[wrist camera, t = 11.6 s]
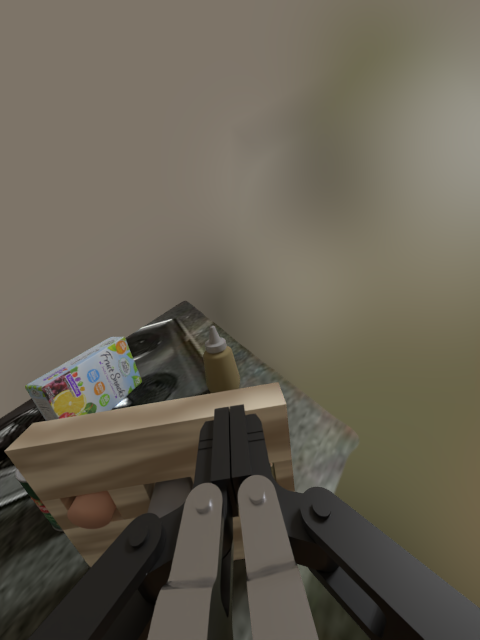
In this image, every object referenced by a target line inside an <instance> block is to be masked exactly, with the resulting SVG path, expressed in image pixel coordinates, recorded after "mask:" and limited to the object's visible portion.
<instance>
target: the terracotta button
mask: <svg viewBox="0 0 480 640" xmlns="http://www.w3.org/2000/svg"><path fill="white" fill-rule="evenodd" d="M115 509H116V505H115V503H114V501H113V499H112V498H111V496H110V494H109V492H108V491H102V492H96V493H90V494H84V495H78V496H76V498H75V500H74V501H73V503H72V505H71V507H70V508H69V510H68V512H67V517H68V519H69V520H70V522H72V523H73V524H74V525H76V526H78V527H81V528H86V529H98V528H102V527H104V526H106V525H108V524H109V523H110V521H111V519H112V516H113V514H114V511H115Z"/></svg>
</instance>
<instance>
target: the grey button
mask: <svg viewBox="0 0 480 640" xmlns="http://www.w3.org/2000/svg"><path fill="white" fill-rule="evenodd" d="M192 489H193V481H192V478H191V477H185V478H179V479H173V480H167V481H161V482H156V483H155V487H154V490H153V494H152V497H151V501H150V504H149V508H148V512H147V513H153V514H156V515H157V516H158V517H159V518H161V517H163V516H165V515H166V514H168V513H170V512H172V511H174V510H176V509H177V508H179V507H180V506H181V505H182V504H183V503H184V502H185V501H186V499H187V497H188V495H189V493H190V492H191V491H192Z"/></svg>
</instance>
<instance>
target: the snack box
mask: <svg viewBox="0 0 480 640" xmlns="http://www.w3.org/2000/svg"><path fill="white" fill-rule="evenodd" d="M141 382H142V380H141V377H140V375H139V372H138V370H137V367H136V365H135V362H134V360H133V357H132V355H131V352H130V350H129V347H128V345H127V342H126V340H125V337H110V338H108V339H106V340H105V341H103V342H101V343H99V344H98V345H96V346H94V347H92V348H91V349H89V350H87V351H85V352H84V353H82V354H80V355H78V356H77V357H75V358H73V359H71V360H70V361H68V362H66V363H64V364H63V365H61V366H59V367H57V368H56V369H54V370H52V371H51V372H48V373H47V374H45V375H43V376H42V377H40V378H38V379H36V380H34V381H33V382H31V383H29V384H27V385H26V386H25V388H26V390H27V391H28V393H29V395H30V396H31V398H32V399H33V401H34V402H35V404H36V406H37V407H38V409H39V410H40V412H41V414H42V415H43V417H44V418H45V420H46V421H49V420H55V419H61V418H67V417H73V416H79V415H85V414H91V413H97V412H103V411H109V410H111V409H113V408H114V407H115V406H116V405H117V404H118V403H119V402H120V401H121V400H122V399H124V398H125V397H126V396H127V395H128V394H129V393H130V392H131V391H132V390H133V389H135V388H136V387H137V386H138V385H139V384H140V383H141Z"/></svg>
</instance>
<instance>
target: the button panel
mask: <svg viewBox="0 0 480 640" xmlns="http://www.w3.org/2000/svg"><path fill="white" fill-rule="evenodd" d="M241 404H244V408H245V414H246V415H249V414H255V413H256V415H257V416H258V417H259V419H260V420H261V422H262V427H263V433H264V438H265V443H266V448H267V453H268V458H269V463H270V465H271V470H272V475H273V478H274V479H275V481H276V482H277V483H278V484H279V485H280V486H281V487H283V488H284V489H286V490H289V491H293V492H295V489H294V479H293V468H292V458H291V448H290V438H289V428H288V418H287V407H286V402H285V399H284V397H283V394H282V391H281V388H280V386H279V383H278V382H277V383H271V384H265V385H259V386H253V387H247V388H241V389H235V390H229V391H223V392H217V393H211V394H205V395H199V396H193V397H187V398H181V399H175V400H169V401H163V402H157V403H151V404H145V405H139V406H133V407H127V408H121V409H115V410H109V411H103V412H97V413H91V414H85V415H79V416H73V417H67V418H61V419H55V420H49V421H43V422H37V423H33V424H32V425H31V426H30V427H29V428H28V429H27V430H26V431H25V432H23V433H22V434H21V435H20V436H19V437H18V438H17V439H16V440H15V441H14V442H13V443H12V444H11V445H10V446H9V447H8V448H7V449H6V450H5V453H6V454H7V455H8V457H9V458H10V459H11V461H12V462H13V464H14V465H15V466H16V468H17V469H18V470H19V472H20V473H21V474H22V476H23V477H24V478H25V480H26V481H27V482H28V484H29V485H30V487H31V488H32V489H33V491H34V492H35V493H36V495H37V496H38V497H39V499H40V500H41V501H42V503H43V504H44V505H45V507H46V508H47V510H48V511H49V512H50V514H51V515H52V516H53V518H54V519H55V520H56V522H57V523H58V524H59V526H60V527H61V528H62V530H63V531H64V532H65V534H66V535H67V537H68V538H69V539H70V541H71V542H72V543H73V545H74V546H75V547H76V549H77V550H78V551H79V553H80V554H81V555H82V557H83V558H84V560H85V561H86V562H87V564H88V565H89V566H90V568H91V567H92V566H93V564H94V563H95V562H96V561H97V560H98V559H99V558H100V557H101V555H102V554H103V553H104V552H105V551H106V550H107V549H108V547H109V546H110V545H111V544H112V543H113V542H114V541H115V539H116V538H117V537H118V536H119V535H120V534H121V533H122V531H123V530H124V529H125V528H126V527H127V526H128V525H129V524H130V523H131V522H132V521H133V520H134V519H135V518H136V517H138V516H140V515H142V514H145V513H147V512H148V508H149V504H150V501H151V497H152V494H153V490H154V487H155V483H156V482H161V481H167V480H173V479H179V478H185V477H191V478H192V481H193V484H194V476H195V468H196V460H197V452H198V444H199V435H200V430H201V428H202V426H203V425H204V423H205V421H211V420H214V410H215V409H216V408H223V407H229V409H230V406H235V405H241ZM102 491H108V492H109V494H110V496H111V498H112V499H113V501H114V503H115V505H116V509H115V511H114V514H113V516H112V519H111V521H110V523H109V524H108V525H106V526H104V527H102V528H98V529H86V528H81V527H78V526H76V525H74V524H73V523H72V522H70V520H69V519H68V517H67V512H68V510H69V508H70V507H71V505H72V503H73V501H74V500H75V498H76V496H78V495H84V494H90V493H96V492H102ZM238 509H239V507H238ZM233 540H234V553H233V560H239V559H245V554H244V545H243V537H242V529H241V520H240V512H239V517H233Z"/></svg>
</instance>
